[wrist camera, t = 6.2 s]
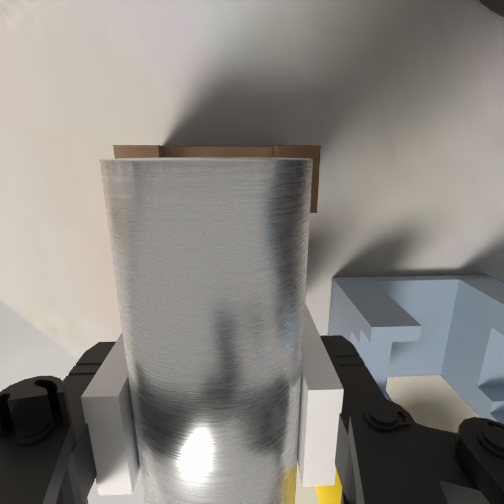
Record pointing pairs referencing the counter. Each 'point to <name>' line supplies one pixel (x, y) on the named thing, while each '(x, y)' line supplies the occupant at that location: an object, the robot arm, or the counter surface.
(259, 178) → the steel axle
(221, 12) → the counter surface
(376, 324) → the blue notched cradle
